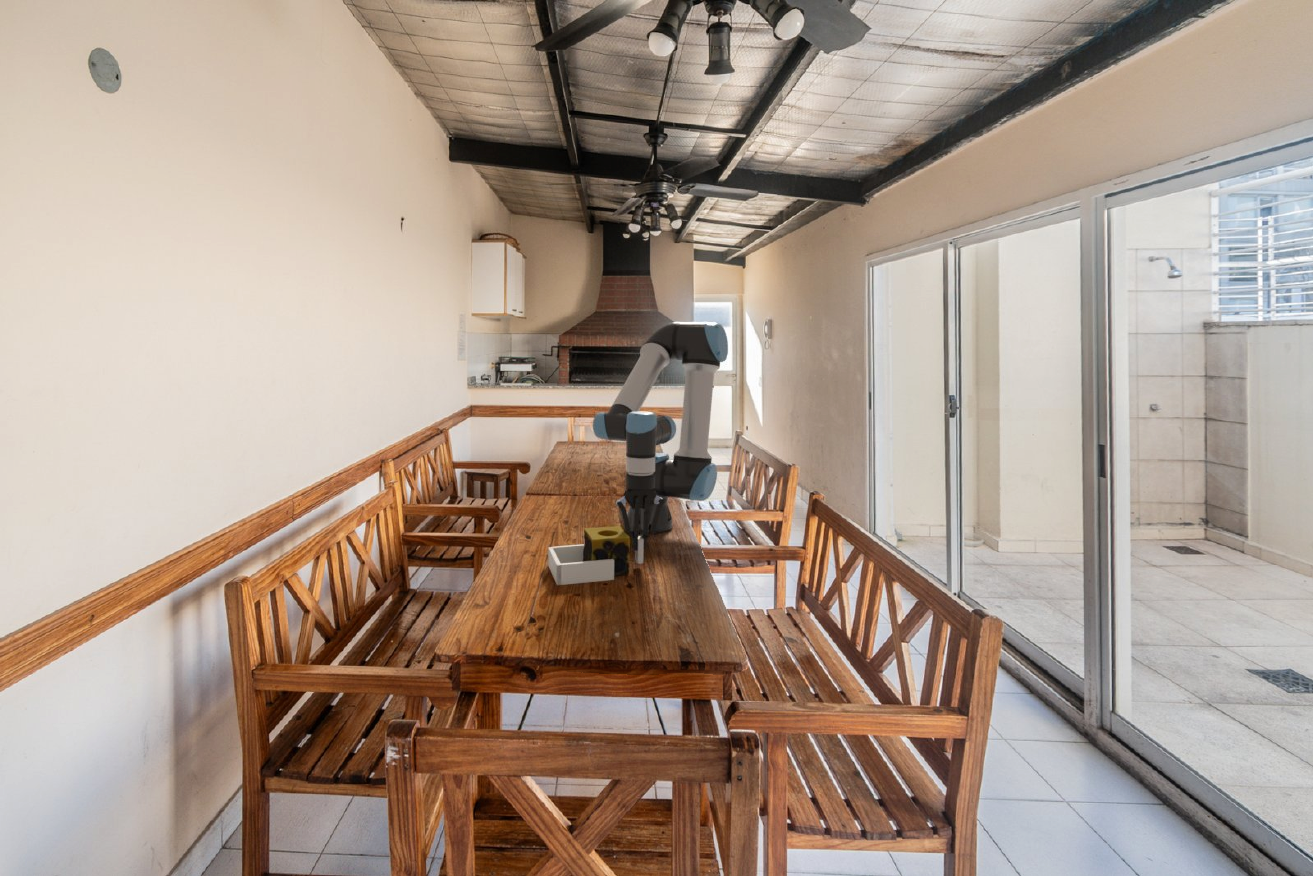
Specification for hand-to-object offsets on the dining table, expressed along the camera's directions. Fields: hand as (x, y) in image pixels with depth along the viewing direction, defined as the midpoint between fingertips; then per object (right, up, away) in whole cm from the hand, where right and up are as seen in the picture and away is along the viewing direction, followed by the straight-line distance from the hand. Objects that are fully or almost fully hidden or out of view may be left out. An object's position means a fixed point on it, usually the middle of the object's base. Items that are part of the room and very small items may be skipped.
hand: (639, 561), depth 165 cm
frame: (-14, -2, -4) cm, 15 cm away
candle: (-8, -2, -2) cm, 9 cm away
